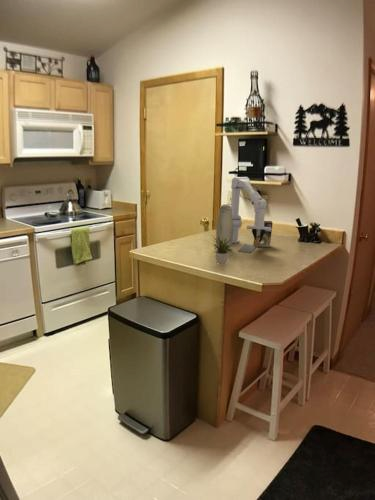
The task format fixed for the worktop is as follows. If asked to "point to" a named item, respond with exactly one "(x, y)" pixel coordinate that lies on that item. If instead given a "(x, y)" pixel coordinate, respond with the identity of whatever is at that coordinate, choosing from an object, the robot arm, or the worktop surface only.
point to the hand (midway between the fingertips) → (257, 241)
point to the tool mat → (247, 248)
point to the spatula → (257, 242)
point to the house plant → (221, 250)
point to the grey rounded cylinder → (225, 225)
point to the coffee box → (266, 234)
